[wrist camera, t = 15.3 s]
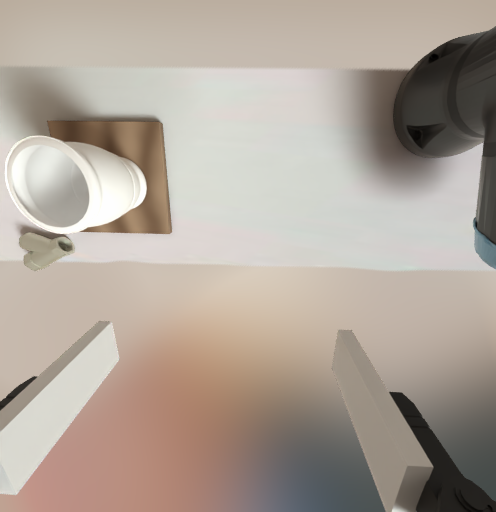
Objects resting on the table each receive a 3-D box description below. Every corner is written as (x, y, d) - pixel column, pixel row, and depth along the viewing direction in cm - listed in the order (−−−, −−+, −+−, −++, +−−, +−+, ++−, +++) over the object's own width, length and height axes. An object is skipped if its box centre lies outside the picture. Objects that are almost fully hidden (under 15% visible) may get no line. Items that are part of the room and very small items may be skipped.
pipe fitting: (27, 236, 46) (48, 266, 48) (6, 240, 43) (29, 273, 44) (58, 219, 45) (78, 250, 46) (39, 221, 41) (62, 255, 43)
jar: (85, 153, 39) (-14, 140, 25) (145, 147, 38) (80, 130, 24) (103, 217, 42) (25, 238, 28) (159, 212, 42) (108, 231, 28)
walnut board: (162, 123, 39) (158, 121, 37) (172, 232, 44) (169, 233, 43) (54, 122, 39) (47, 120, 38) (78, 229, 45) (72, 231, 43)
